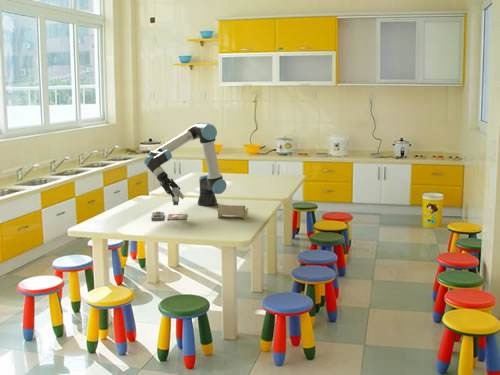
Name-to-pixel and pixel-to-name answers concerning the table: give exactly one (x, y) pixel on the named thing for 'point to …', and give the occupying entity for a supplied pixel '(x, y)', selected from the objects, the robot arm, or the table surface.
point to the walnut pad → (177, 217)
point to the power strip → (157, 216)
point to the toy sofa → (232, 210)
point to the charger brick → (176, 191)
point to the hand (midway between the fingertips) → (180, 199)
